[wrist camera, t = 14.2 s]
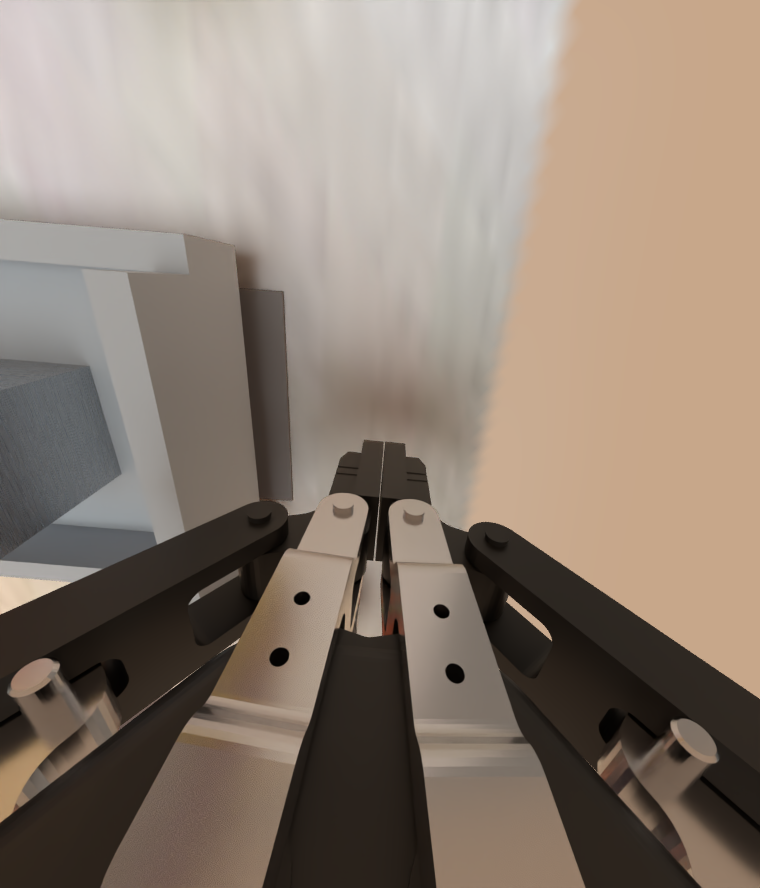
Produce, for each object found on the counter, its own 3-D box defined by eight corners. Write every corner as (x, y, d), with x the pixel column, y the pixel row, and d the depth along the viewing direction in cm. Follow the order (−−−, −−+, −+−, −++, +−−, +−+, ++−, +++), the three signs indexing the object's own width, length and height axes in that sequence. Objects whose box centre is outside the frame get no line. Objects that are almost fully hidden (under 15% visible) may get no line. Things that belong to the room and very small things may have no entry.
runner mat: (292, 498, 20) (291, 500, 20) (-152, 462, 20) (-157, 463, 20) (283, 291, 15) (281, 292, 15) (-303, 244, 15) (-311, 243, 15)
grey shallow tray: (274, 523, 20) (211, 650, 13) (37, 503, 20) (-150, 620, 13) (253, 249, 14) (115, 218, 7) (-88, 222, 14) (-559, 163, 7)
